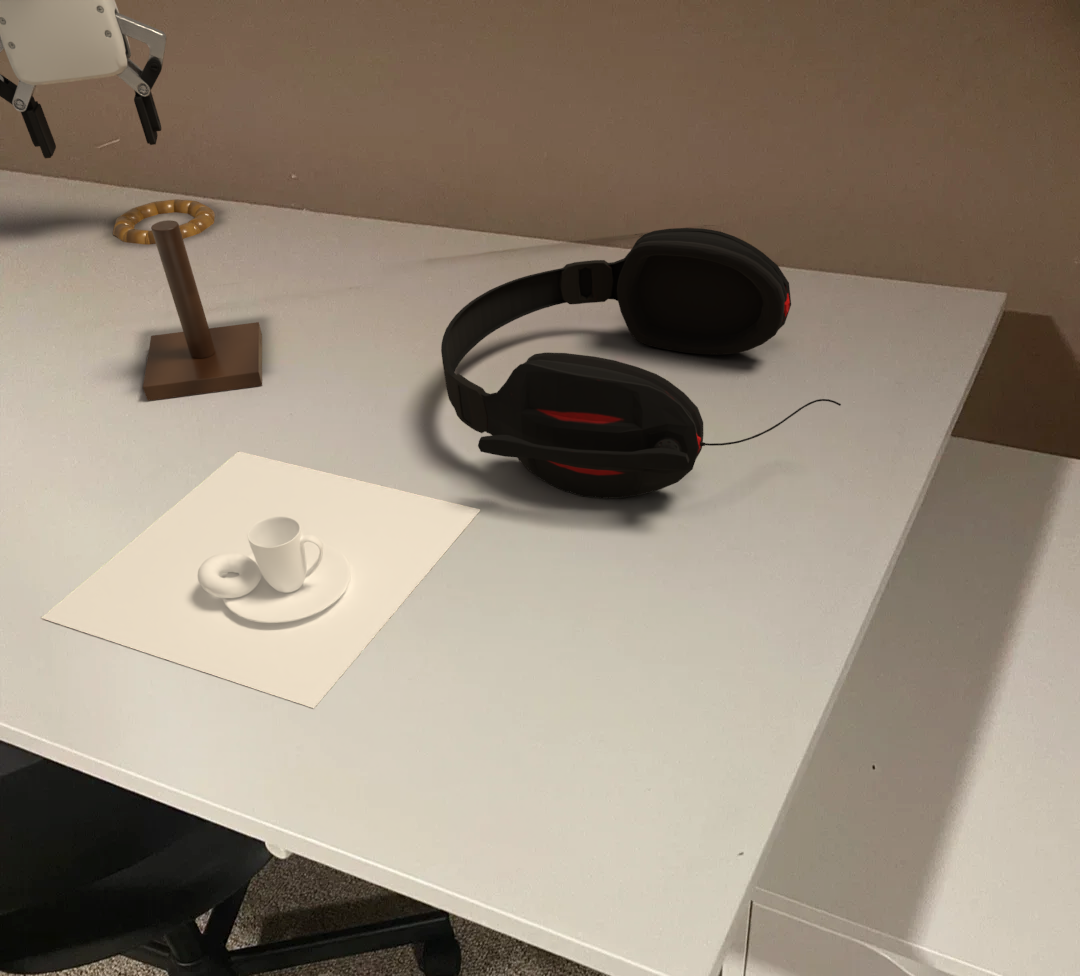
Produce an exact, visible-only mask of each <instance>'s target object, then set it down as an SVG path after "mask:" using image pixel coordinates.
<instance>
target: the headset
mask: <svg viewBox="0 0 1080 976" xmlns="http://www.w3.org/2000/svg"><path fill="white" fill-rule="evenodd" d="M769 257H770V256H768V255H766V254H765V253H764V252H763V251H761V250H760V249H758V248H757V247H756V246H754V245H752V244H750V243H749V242H747V241H745V240H744V239H741V238H739V237H737V236H735V235H731V234H728V233H725V232H723V231H719V230H714V229H708V228H702V227H701V228H699V227H697V228H696V227H675V228H673V227H672V228H665V229H658V230H652V231H650V232H646V233H644V234H642V235H641V236H640V237H639V238H638V239H637V240H636V241H635V243H634V245H633V246H632V248H631V249H630V250H629V252H628V253H627V254H626V255H625V257H623V258H621V259H619V260H616V261H612V262H607V261H606V260H605V259H594V260H583V261H574V262H571V263H567V264H566V263H565V265H564V266H563V267H560V268H556V269H550V270H546V271H541V272H536V273H532V274H528V275H525V276H522V277H518V278H515V279H513V280H510V281H507V282H505V283H503V284H500V285H498V286H496V287H493V288H491V289H489V290H487V291H486V292H484V293H482V294H479V296H477V297H475V298H474V299H472V300H471V301H469V302H468V303H467V304H465V306H463V307H462V308H461V309H459V311H458V312H457V313H456V314H455V315H454V317H453V318H452V319H451V320H450V321H449V324H448V325H447V327H446V328H445V331H444V334H443V336H442V340H441V344H440V345H441V347H440V352H441V353H440V354H441V361H442V366H443V375H444V382H445V387H446V393H447V396H448V400H449V402H450V404H451V406H452V407H453V409H454V412H455V414H456V416H457V417H458V419H459V420H460V421H461V423H464V424H465V425H466V426H467V427H469V428H470V429H473V430H474V431H476V432H478V433H480V434H483V433H485V432H486V433H487V434H489V435H484V436H481V437H479V440H478V443H477V447H478V449H479V451H480V453H485V454H490V455H495V456H500V457H504V458H505V457H506V458H507V457H508V458H516V459H518V460H519V462H520V463H521V464H522V465H523V466H524V467H525V468H526V469H527V470H528V471H529V472H530V473H532V474H533V475H534V476H535V477H537V478H538V479H540V480H542V481H543V482H545V483H547V484H549V485H551V486H552V487H555V488H557V489H558V490H560V491H563V492H566V493H571V494H574V495H576V496H581V497H587V498H594V499H621V498H628V497H629V498H630V497H635V496H641V495H645V494H650V493H652V492H656V491H660V490H662V489H664V488H667V487H670V486H672V485H674V484H677V483H679V482H680V481H681V480H682V479H683V478H684V477H686V476H687V475H688V474H689V473H690V472H691V471H692V470H693V469H694V466H695V463H696V460H697V458H698V457H699V455H700V453H701V451H702V449H703V447H706V446H710V447H711V446H713V447H714V446H729V445H734V444H739V443H742V442H743V443H744V442H747V441H749V440H752V439H755V438H757V437H760V436H762V435H764V434H765V433H768V432H771V431H772V430H774V429H776V428H777V427H778V426H780V425H782V424H783V423H784V422H786V421H787V420H788V419H790V418H791V417H793V416H795V414H797V413H798V412H800V411H801V410H803V409H804V408H806V407H808V406H810V405H812V404H814V403H817V402H828V403H832V404H835V405H838V406H840V407H841V406H842V404H841V403H840V402H837V401H836V400H832V399H828V398H819V399H815V400H812V401H809V402H808V403H806V404H804V405H802V406H801V407H799V408H798V409H796V410H795V411H794V412H792V413H791V414H789V415H788V416H787V417H785V418H784V419H782V420H781V421H779V422H778V423H777V424H775V425H773V426H771V427H770V428H768V429H765V430H764V431H762V432H760V433H757V434H755V435H752V436H750V437H747V438H746V437H745V438H743V439H741V440H736V441H729V442H721V443H719V442H718V443H707V442H704V420H703V417H702V414H701V412H700V409H699V407H698V406H697V405H696V404H695V402H693V400H691V399H690V397H688V395H687V394H686V393H685V392H684V391H682V390H681V389H679V388H678V387H677V386H676V385H675V384H673V383H672V382H671V381H669V380H668V379H666V378H664V377H662V376H660V375H659V374H657V373H655V372H653V371H649V370H647V369H644V368H641V367H638V366H636V365H632V364H629V363H625V362H622V361H619V360H615V359H610V358H604V357H600V356H593V355H585V354H578V353H568V352H540V353H535V354H533V355H530V356H529V357H528V358H527V359H526V361H525V362H523V363H520V364H519V365H517V366H516V367H515V368H514V369H513V370H512V372H511V373H510V375H509V376H508V378H507V379H506V381H505V382H504V383H503V385H502V386H501V387H500V388H499V390H498V391H496V392H492V393H489V392H486V390H485V389H484V388H483V387H482V386H480V385H478V384H476V383H474V382H472V381H471V380H469V379H467V378H466V377H465V376H463V375H462V374H460V373H456V371H457V368H458V366H459V364H460V363H461V362H462V361H463V360H464V358H465V357H466V356H467V355H468V354H469V353H470V352H471V350H472V349H474V348H475V347H476V346H477V345H478V344H479V343H480V342H481V341H483V340H484V339H485V338H486V337H488V336H490V335H491V334H492V333H494V332H495V331H496V330H499V329H501V328H502V327H504V326H506V325H507V324H510V323H512V322H514V321H515V320H518V319H520V318H523V317H524V316H527V315H529V314H532V313H534V312H537V311H541V310H544V309H546V308H550V307H553V306H557V305H561V304H568V305H581V304H595V303H604V302H606V301H608V300H614V301H617V303H618V306H619V311H620V313H621V316H622V318H623V320H624V323H625V325H626V327H627V330H628V331H629V333H630V334H631V336H632V338H634V339H635V340H636V341H637V342H639V343H640V344H644V345H646V346H649V347H653V348H657V349H662V350H668V351H673V352H678V353H685V354H686V353H687V354H694V355H695V354H696V355H719V356H720V355H732V354H733V355H734V354H740V353H744V352H747V351H750V350H753V349H754V348H758V347H760V346H761V345H764V344H765V343H766V342H768V341H769V340H771V339H772V338H774V336H776V335H777V333H778V331H779V330H780V329H782V327H784V326H785V324H786V321H787V319H788V315H789V313H790V309H791V306H792V298H791V288H790V282H789V281H788V279H787V278H786V276H785V274H784V273H783V271H782V269H781V267H780V266H779V265H778V263H776V262H775V261H773V260H772V259H771V258H769Z"/></svg>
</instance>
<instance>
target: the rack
mask: <svg viewBox="0 0 1080 976" xmlns="http://www.w3.org/2000/svg"><path fill="white" fill-rule="evenodd" d="M179 225H180V224H179V222H178V221H177V220H171V219H170V220H168V219H167V220H161V221H157V222H155V223H153V224H152V225H151V227H150V228H151V229H150V230H152V233H153V236H154V239H155V242H156V244H155V246H156V248H157V251H158V255H159V258H160V261H161V265H162V268H163V271H164V274H165V277H166V280H167V284H168V288H169V291H170V293H171V296H172V300H173V303H174V307H175V309H176V313H177V316H178V319H179V322H180V326H181V329H182V331H178V332H170V333H162V334H155V335H151V336H150V341H149V346H148V353H147V359H146V365H145V372H144V377H143V384H142V389H143V392H144V395H145V398H146V400H147V402H149V401H156V400H164V399H173V398H180V397H187V396H195V395H202V394H211V393H219V392H225V391H232V390H239V389H247V388H255V387H262V386H263V333H262V329H261V326H260V325H261V324H260V322H259V321H256V322H250V323H249V322H248V323H240V324H234V325H233V324H232V325H226V326H225V325H224V326H217V327H216V326H215V327H210V326H209V324H208V321H207V316H206V314H205V310H204V307H203V303H202V299H201V296H200V293H199V289H198V285H197V283H196V279H195V275H194V272H193V269H192V266H191V262H190V259H189V255H188V251H187V248H186V244H185V242H184V239H183V238H182V234H181V231H180V227H179Z"/></svg>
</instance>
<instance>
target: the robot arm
mask: <svg viewBox="0 0 1080 976" xmlns="http://www.w3.org/2000/svg"><path fill="white" fill-rule="evenodd" d="M116 2H117V1H116V0H0V53H1V52H2V51H4V52H5V55H6V57H7V60H8V61H9V62H8V63H9V65H10V67H11V69H12V71H13V74H14V75H15V77H16V78H17V79H18V84H15V82H13V81H12V80H10V79H8V78H7V77H6V76H4V75H3V74H2V73H0V97H1V98H2V99H3V100H5V101H6V102H7V103H9V104H11V105H12V107H13V108H14V109H15V110H16V111H17V112H20V114H21V117H22V119H23V122H24V124H25V127H26V129H27V132H28V134H29V137H30V139H31V142H32V145H33V146H34V147H36V148H39V149H40V151H41V153H42V156H43V158H44V159H51V158H52V157H53V156H54V153H55V151H56V149H57V145H56V142H55V139H54V137H53V134H52V131H51V129H50V126H49V123H48V120H47V118H46V115H45V112H44V110H43V108H42V104H41V103H39V101H37V100H35V96H34V93H35V90H36V87H37V86H44V85H45V86H46V85H53V84H63V83H71V82H80V81H86V80H87V81H89V80H94V79H95V80H96V79H103V78H109V77H115V76H117V77H118V78H119V79H121V80H122V81H123V82H124V83H125V84H126V85H127V86H129V87H130V88H131V89H132V90H133V91H134V98H133V102H134V106H135V108H136V113H137V116H138V118H139V122H140V124H141V128H142V131H143V134H144V138H145V140H146V143H147V144H149V145H150V146H152V145H153V146H154V145H157V140H158V132H162V124H161V119H160V117H159V114H158V109H157V107H156V103H155V100H154V97H153V94H152V89H153V88H154V85H155V84H156V82H157V80H158V78H159V76H160V74H161V72H162V69H163V65H164V58H165V52H166V45H167V39H168V37H167V34H166V33H165V32H164V31H163V30H161V29H158V28H156V27H154V26H151V25H149V24H146V23H144V22H141V21H139V20H137V19H135V18H132V17H130V16H127V15H125V14H122V13H120V11H119V9H118V5H117V3H116ZM128 37H129V38H131V39H134V40H136V41H139V42H141V43H144V44H146V45H147V47H148V48H149V53H148V59H147V61H146V64H145V65H144V67H143V69H142V68H141V67H140V66H139V65H138V64H136V63H135V62H134V61H133V60H132V59H131V56H132V50H131V44H130V41H129V38H128Z"/></svg>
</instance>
